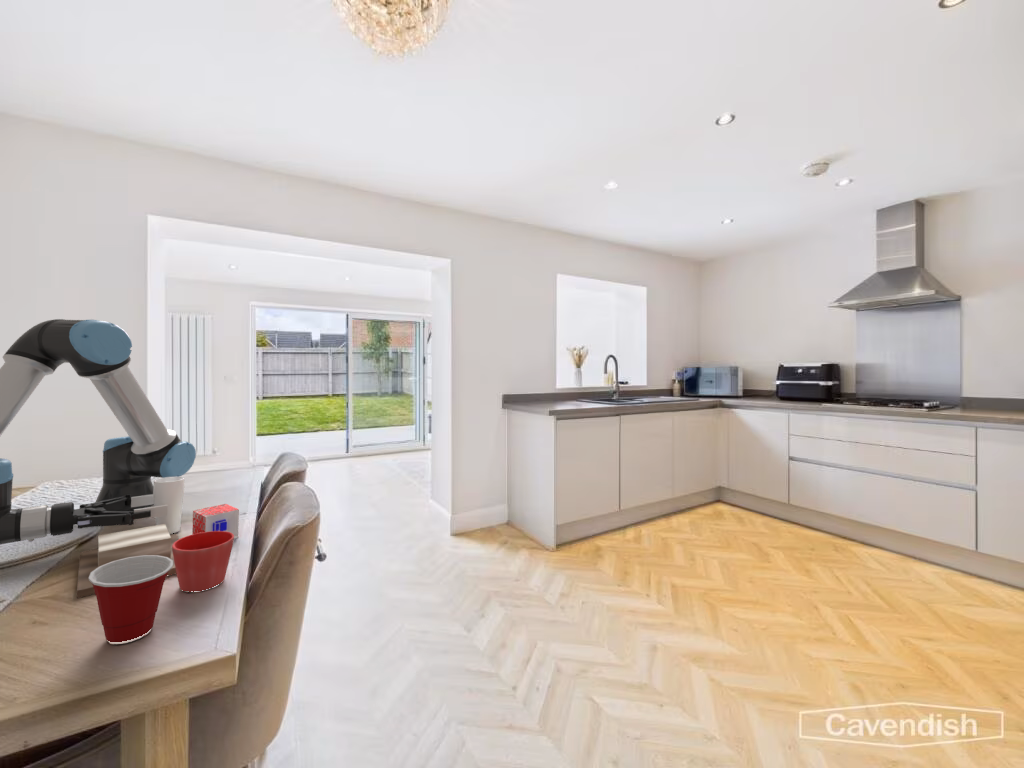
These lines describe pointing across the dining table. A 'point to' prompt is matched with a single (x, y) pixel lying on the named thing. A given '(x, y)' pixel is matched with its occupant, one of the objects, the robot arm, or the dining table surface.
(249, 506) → the dining table surface
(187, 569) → the flower pot
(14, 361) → the robot arm
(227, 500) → the dining table surface
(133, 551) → the display stand
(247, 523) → the dining table surface
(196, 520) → the red patterned cube
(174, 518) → the drinking glass
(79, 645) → the dining table surface
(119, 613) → the plastic cup
